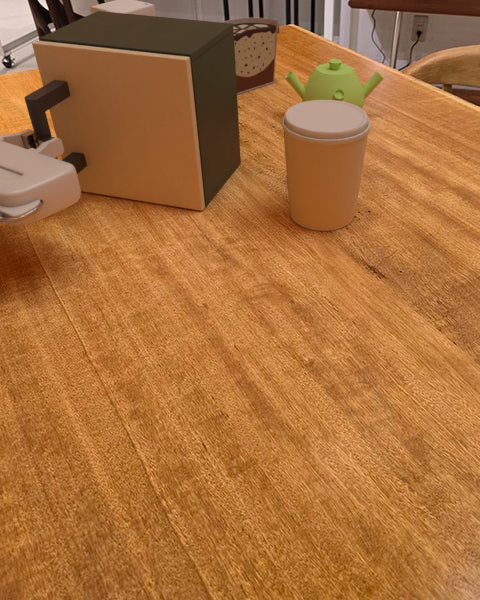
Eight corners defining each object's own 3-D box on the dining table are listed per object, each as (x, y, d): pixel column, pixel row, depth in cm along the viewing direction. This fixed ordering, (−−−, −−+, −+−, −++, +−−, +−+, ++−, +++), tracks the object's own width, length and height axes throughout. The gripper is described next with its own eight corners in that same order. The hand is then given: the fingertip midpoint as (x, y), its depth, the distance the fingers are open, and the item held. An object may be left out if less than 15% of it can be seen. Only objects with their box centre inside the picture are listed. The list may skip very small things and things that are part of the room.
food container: (257, 72, 107) (255, 12, 101) (280, 80, 104) (280, 20, 98) (203, 88, 101) (197, 25, 94) (225, 98, 97) (221, 34, 91)
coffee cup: (372, 204, 71) (383, 107, 64) (344, 243, 65) (352, 140, 57) (302, 187, 74) (304, 93, 67) (268, 223, 68) (266, 122, 60)
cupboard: (206, 207, 70) (191, 54, 59) (75, 185, 74) (38, 38, 63) (241, 163, 79) (233, 23, 68) (123, 146, 83) (97, 10, 72)
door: (181, 237, 65) (159, 79, 54) (41, 212, 69) (-5, 59, 58) (205, 207, 70) (190, 56, 59) (74, 185, 74) (37, 40, 63)
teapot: (329, 96, 98) (332, 43, 93) (384, 116, 92) (390, 60, 87) (282, 115, 92) (281, 59, 87) (337, 137, 86) (340, 79, 81)
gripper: (-5, 194, 48) (115, 133, 57) (-152, 138, 56) (-25, 92, 65) (17, 257, 52) (126, 191, 61) (-122, 197, 60) (-7, 146, 69)
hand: (47, 140), depth 63 cm, fingers closed, pressing on door
